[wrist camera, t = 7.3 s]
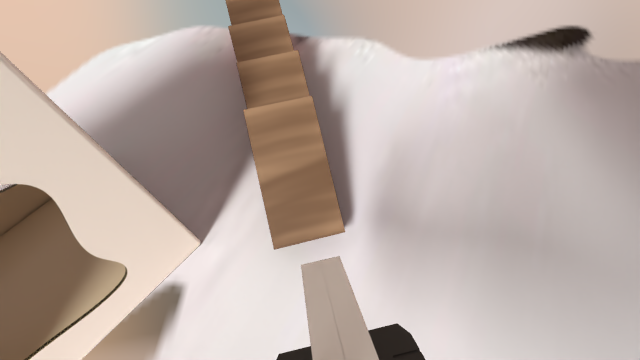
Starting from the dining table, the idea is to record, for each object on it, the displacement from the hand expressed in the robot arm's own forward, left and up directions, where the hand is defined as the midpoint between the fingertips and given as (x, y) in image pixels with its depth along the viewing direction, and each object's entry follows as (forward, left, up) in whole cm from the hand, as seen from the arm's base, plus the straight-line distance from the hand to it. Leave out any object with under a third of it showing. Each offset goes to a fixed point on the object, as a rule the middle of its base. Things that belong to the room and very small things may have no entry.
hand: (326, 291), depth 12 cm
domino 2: (+6, -9, -9) cm, 14 cm away
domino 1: (+3, -4, -9) cm, 11 cm away
